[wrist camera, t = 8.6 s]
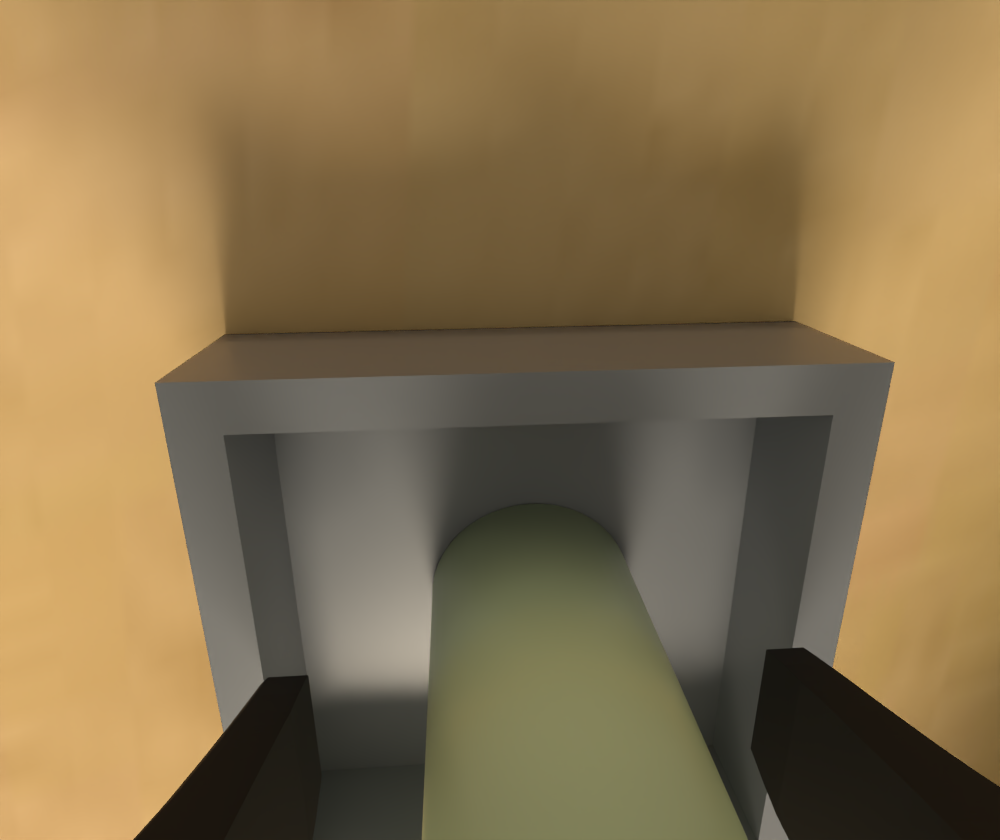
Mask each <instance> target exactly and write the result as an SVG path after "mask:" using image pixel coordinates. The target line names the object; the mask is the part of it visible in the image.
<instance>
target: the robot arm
mask: <svg viewBox="0 0 1000 840" xmlns="http://www.w3.org/2000/svg"><path fill="white" fill-rule="evenodd" d="M751 751H752V754H753V756H754V759H755V762H756V764H757V767H758V770H759V772H760V775H761V778H762V780H763V783H764V786H765V788H766V791H767V793H768V796H769V798H770V800H771V803H772V805H773V808H774V810H775V813H776V815H777V817H778V819H779V821H780V823H781V825H782V827H783V829H784V831H785V833H786V835H787V837H788V839H789V840H1000V787H999V786H997V785H996V784H994V783H993V782H991V781H990V780H988V779H987V778H985V777H984V776H982V775H981V774H979V773H978V772H976V771H975V770H973V769H972V768H970V767H969V766H967V765H966V764H964V763H963V762H962V761H960V760H959V759H957V758H956V757H954V756H953V755H951V754H950V753H948V752H947V751H946V750H944V749H943V748H941V747H940V746H939V745H937V744H936V743H934V742H933V741H932V740H930V739H929V738H927V737H926V736H925V735H923V734H922V733H920V732H919V731H918V730H916V729H915V728H913V727H912V726H911V725H909V724H908V723H907V722H905V721H904V720H902V719H901V718H900V717H898V716H897V715H896V714H894V713H893V712H892V711H890V710H889V709H887V708H886V707H885V706H883V705H882V704H881V703H879V702H878V701H877V700H875V699H874V698H873V697H871V696H870V695H869V694H867V693H866V692H864V691H863V690H862V689H860V688H859V687H858V686H856V685H855V684H854V683H852V682H851V681H850V680H848V679H847V678H846V677H844V676H843V675H842V674H840V673H839V672H838V671H836V670H835V669H833V668H832V667H831V666H829V665H828V664H827V663H825V662H824V661H822V660H821V659H820V658H818V657H817V656H815V655H814V654H812V653H811V652H809V651H808V650H807V649H805V648H804V647H801V648H783V649H766V655H765V661H764V667H763V674H762V680H761V686H760V692H759V699H758V705H757V711H756V717H755V724H754V730H753V736H752V742H751ZM321 779H322V774H321V766H320V759H319V752H318V744H317V737H316V729H315V722H314V714H313V707H312V700H311V692H310V685H309V677H308V675H301V676H283V677H268V678H267V679H266V680H265V681H264V682H263V683H261V685H260V686H259V687H258V689H257V690H256V691H255V693H254V694H253V695H252V696H251V698H250V699H249V700H248V702H247V703H246V704H245V706H244V707H243V708H242V710H241V711H240V712H239V714H238V715H237V716H236V717H235V719H234V720H233V721H232V723H231V724H230V725H229V726H228V728H227V729H226V730H225V732H224V733H223V734H222V735H221V737H220V738H219V739H218V740H217V742H216V743H215V744H214V746H213V747H212V748H211V749H210V751H209V752H208V753H207V754H206V756H205V757H204V758H203V759H202V760H201V762H200V763H199V764H198V765H197V766H196V768H195V769H194V770H193V771H192V773H191V774H190V775H189V776H188V777H187V779H186V780H185V781H184V782H183V783H182V785H181V786H180V787H179V788H178V789H177V791H176V792H175V793H174V794H173V795H172V797H171V798H170V799H169V800H168V801H167V803H166V804H165V805H164V806H163V807H162V808H161V809H160V811H159V812H158V813H157V814H156V815H155V816H154V817H153V818H152V820H151V821H150V822H149V823H148V824H147V825H146V826H145V827H144V828H143V830H142V831H141V832H140V833H139V834H138V835H137V836H136V837H135V838H134V840H313V834H314V828H315V821H316V815H317V808H318V800H319V793H320V786H321Z"/></svg>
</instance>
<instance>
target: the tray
mask: <svg viewBox="0 0 1000 840" xmlns="http://www.w3.org/2000/svg"><path fill="white" fill-rule="evenodd" d="M894 363H895V362H893V361H890V360H888V359H885V358H883V357H880V356H878V355H876V354H873V353H871V352H868V351H866V350H863V349H861V348H859V347H856V346H854V345H851V344H849V343H847V342H844V341H842V340H839V339H837V338H834V337H832V336H830V335H827V334H825V333H822V332H820V331H817V330H815V329H813V328H810V327H808V326H805V325H803V324H801V323H798V322H796V321H784V322H741V323H698V324H656V325H613V326H570V327H527V328H485V329H442V330H399V331H356V332H314V333H271V334H228V335H223V336H222V337H221V338H219V339H218V340H216V341H215V342H213V343H212V344H210V345H209V346H208V347H206V348H205V349H203V350H202V351H200V352H199V353H197V354H196V355H194V356H193V357H192V358H190V359H189V360H187V361H186V362H184V363H183V364H181V365H180V366H179V367H177V368H176V369H174V370H173V371H171V372H170V373H168V374H167V375H166V376H164V377H163V378H161V379H160V380H158V381H157V382H155V386H156V391H157V396H158V401H159V407H160V412H161V417H162V422H163V427H164V432H165V437H166V442H167V447H168V452H169V457H170V462H171V468H172V473H173V478H174V483H175V488H176V493H177V498H178V503H179V508H180V513H181V518H182V523H183V529H184V534H185V539H186V544H187V549H188V554H189V559H190V564H191V569H192V574H193V579H194V584H195V589H196V595H197V600H198V605H199V610H200V615H201V620H202V625H203V630H204V635H205V640H206V645H207V650H208V656H209V661H210V666H211V671H212V676H213V681H214V686H215V691H216V696H217V701H218V706H219V711H220V716H221V722H222V727H223V732H225V730H226V729H227V728H228V726H229V725H230V724H231V723H232V721H233V720H234V719H235V717H236V716H237V715H238V714H239V712H240V711H241V710H242V708H243V707H244V706H245V704H246V703H247V702H248V700H249V699H250V698H251V696H252V695H253V694H254V693H255V691H256V690H257V689H258V687H259V686H260V685H261V683H263V682H264V681H265V680H266V679H267V678H268V677H283V676H301V675H308V677H309V685H310V692H311V700H312V707H313V714H314V722H315V729H316V737H317V744H318V752H319V759H320V766H321V774H322V779H321V786H320V793H319V800H318V808H317V815H316V821H315V828H314V834H313V840H422V822H423V799H424V776H425V753H426V730H427V707H428V684H429V662H430V639H431V616H432V593H433V581H434V575H435V572H436V569H437V566H438V563H439V561H440V559H441V557H442V555H443V553H444V552H445V550H446V549H447V547H448V546H449V544H450V543H451V542H452V541H453V540H454V539H455V538H456V536H457V535H458V534H459V533H460V532H462V531H463V530H464V529H465V528H466V527H468V526H469V525H470V524H472V523H473V522H475V521H477V520H478V519H480V518H482V517H484V516H486V515H488V514H490V513H492V512H495V511H498V510H500V509H503V508H507V507H512V506H516V505H524V504H550V505H557V506H561V507H565V508H569V509H572V510H575V511H577V512H580V513H582V514H584V515H586V516H587V517H589V518H591V519H593V520H594V521H596V522H597V523H598V524H600V525H601V526H602V527H603V528H604V529H605V530H606V531H607V532H608V533H609V534H610V535H611V536H612V538H613V539H614V540H615V542H616V543H617V545H618V546H619V548H620V550H621V552H622V554H623V556H624V559H625V561H626V563H627V566H628V568H629V570H630V572H631V575H632V577H633V579H634V581H635V584H636V586H637V588H638V591H639V593H640V595H641V597H642V600H643V602H644V604H645V606H646V609H647V611H648V613H649V616H650V618H651V620H652V622H653V625H654V627H655V629H656V631H657V634H658V636H659V638H660V641H661V643H662V645H663V647H664V650H665V652H666V654H667V656H668V659H669V661H670V663H671V666H672V668H673V670H674V672H675V675H676V677H677V679H678V681H679V684H680V686H681V688H682V691H683V693H684V695H685V697H686V700H687V702H688V704H689V706H690V709H691V711H692V713H693V716H694V718H695V720H696V722H697V725H698V727H699V729H700V732H701V734H702V736H703V738H704V741H705V743H706V745H707V747H708V750H709V752H710V754H711V757H712V759H713V761H714V763H715V766H716V768H717V770H718V772H719V775H720V777H721V779H722V782H723V784H724V786H725V788H726V791H727V793H728V795H729V797H730V800H731V802H732V804H733V807H734V809H735V811H736V813H737V816H738V818H739V820H740V822H741V825H742V827H743V829H744V832H745V834H746V836H747V838H748V840H789V839H788V837H787V835H786V833H785V831H784V829H783V827H782V825H781V823H780V821H779V819H778V817H777V815H776V813H775V810H774V808H773V805H772V803H771V800H770V798H769V796H768V793H767V791H766V788H765V786H764V783H763V780H762V778H761V775H760V772H759V770H758V767H757V764H756V762H755V759H754V756H753V754H752V751H751V742H752V736H753V730H754V724H755V717H756V711H757V705H758V699H759V692H760V686H761V680H762V674H763V667H764V661H765V655H766V649H783V648H801V647H804V648H805V649H807V650H808V651H809V652H811V653H812V654H814V655H815V656H817V657H818V658H820V659H821V660H822V661H824V662H825V663H827V664H828V665H829V666H831V667H833V662H834V657H835V652H836V647H837V642H838V637H839V632H840V627H841V623H842V618H843V613H844V608H845V603H846V598H847V593H848V588H849V583H850V578H851V574H852V569H853V564H854V559H855V554H856V549H857V544H858V539H859V534H860V529H861V525H862V520H863V515H864V510H865V505H866V500H867V495H868V490H869V485H870V480H871V476H872V471H873V466H874V461H875V456H876V451H877V446H878V441H879V436H880V431H881V427H882V422H883V417H884V412H885V407H886V402H887V397H888V392H889V387H890V382H891V377H892V373H893V368H894Z"/></svg>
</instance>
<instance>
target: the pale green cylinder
mask: <svg viewBox="0 0 1000 840" xmlns="http://www.w3.org/2000/svg"><path fill="white" fill-rule="evenodd" d="M422 840H748V838H747V836H746V834H745V832H744V829H743V827H742V825H741V822H740V820H739V818H738V816H737V813H736V811H735V809H734V807H733V804H732V802H731V800H730V797H729V795H728V793H727V791H726V788H725V786H724V784H723V782H722V779H721V777H720V775H719V772H718V770H717V768H716V766H715V763H714V761H713V759H712V757H711V754H710V752H709V750H708V747H707V745H706V743H705V741H704V738H703V736H702V734H701V732H700V729H699V727H698V725H697V722H696V720H695V718H694V716H693V713H692V711H691V709H690V706H689V704H688V702H687V700H686V697H685V695H684V693H683V691H682V688H681V686H680V684H679V681H678V679H677V677H676V675H675V672H674V670H673V668H672V666H671V663H670V661H669V659H668V656H667V654H666V652H665V650H664V647H663V645H662V643H661V641H660V638H659V636H658V634H657V631H656V629H655V627H654V625H653V622H652V620H651V618H650V616H649V613H648V611H647V609H646V606H645V604H644V602H643V600H642V597H641V595H640V593H639V591H638V588H637V586H636V584H635V581H634V579H633V577H632V575H631V572H630V570H629V568H628V566H627V563H626V561H625V559H624V556H623V554H622V552H621V550H620V548H619V546H618V545H617V543H616V542H615V540H614V539H613V538H612V536H611V535H610V534H609V533H608V532H607V531H606V530H605V529H604V528H603V527H602V526H601V525H600V524H598V523H597V522H596V521H594V520H593V519H591V518H589V517H587V516H586V515H584V514H582V513H580V512H577V511H575V510H572V509H569V508H565V507H561V506H557V505H550V504H524V505H516V506H512V507H507V508H503V509H500V510H498V511H495V512H492V513H490V514H488V515H486V516H484V517H482V518H480V519H478V520H477V521H475V522H473V523H472V524H470V525H469V526H468V527H466V528H465V529H464V530H463V531H462V532H460V533H459V534H458V535H457V536H456V538H455V539H454V540H453V541H452V542H451V543H450V544H449V546H448V547H447V549H446V550H445V552H444V553H443V555H442V557H441V559H440V561H439V563H438V566H437V569H436V572H435V575H434V581H433V593H432V616H431V639H430V662H429V684H428V707H427V730H426V753H425V776H424V799H423V822H422Z"/></svg>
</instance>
